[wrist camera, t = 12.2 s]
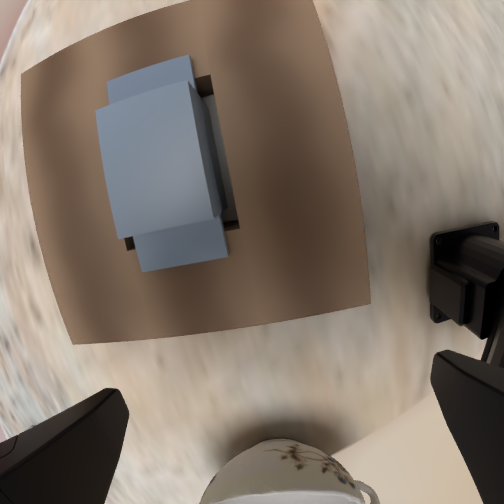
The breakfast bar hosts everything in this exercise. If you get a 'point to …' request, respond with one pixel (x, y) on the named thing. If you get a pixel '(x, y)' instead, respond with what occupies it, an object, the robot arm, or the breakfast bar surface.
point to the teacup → (285, 477)
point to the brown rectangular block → (232, 169)
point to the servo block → (163, 166)
